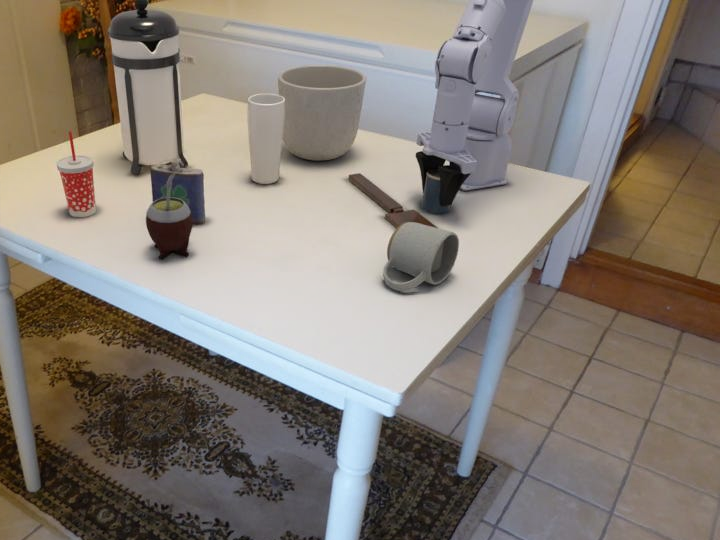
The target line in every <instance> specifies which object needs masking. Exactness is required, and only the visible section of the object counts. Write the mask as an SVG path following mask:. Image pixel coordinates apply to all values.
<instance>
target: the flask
mask: <svg viewBox="0 0 720 540" xmlns="http://www.w3.org/2000/svg"><path fill="white" fill-rule="evenodd" d="M179 162H180V163H181V162H182V161H181V159H180V158H176V159H171V160H170V163H171V164H169V165H167V164H163V163H161V164H160V165H151V167H150V171H149V172H150V182H151V183H150V184H151V197H152V202H154V201H155V200H157V199H160V198H166V197H167V188H166V185H167V181H168V179H169V177H170V176H171V175H172V174H173V173H175V176H174V178H173V179H172V188H171V192H170V197H174V198H178V199H181V200H183V201H184V202H185V203H186V204H187V205H188V207H189V209H190V211H191V216H192V220H193V225H202V224H204V223H205V221H206V208H205V202H206V201H205V187H204V185H205V183H204V181H205V180H204V179H205V174H204V171H203V170H202V169H201V168H189V167H186V168H180V164H179Z"/></svg>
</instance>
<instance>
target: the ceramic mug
mask: <svg viewBox="0 0 720 540" xmlns="http://www.w3.org/2000/svg"><path fill="white" fill-rule="evenodd" d="M459 246H460V239H459V237H458V235H457V233H456V232H454V231H450V230H446V229H443V228H439V227H437V228H435V227H431V226H427V225H423V224H420V223H415V222H406V223H403V224H401V225H400V226H399V227H398V228H396V229H395V230H394V231H393V233H392V234H391V236H390V238H389V241H388V244H387V249H386V257H387V260H388V261H387V262H386V263H385V265H384V268H383V270H382V271H383V272H382V276H383V280H384V282H385V284H386V285H387V287H389V288H390V289H392V290H394V291H397V292H406V291H410V290H414V289H415V288H417V287H418V286H419V285H421V284H422V283H423V282H426V283H428V284H430V285H434V286H435V285H440V284H441V283H443V282H444V281H445V280H446V278H447V277H448V276H449V275H450V273H451V271H452V270H453V268H454V266H455V263H456V261H457V257H458V254H459V248H460V247H459ZM392 268H395V269H396V270H398V271H400V272H402V273H404V274H408V275H409V276H412V277H414V278H413V279H411V280H408V281H404V282H394V281H393V280H392V278H390V277H389V276H388V275H389V273H390V271H391V270H392Z"/></svg>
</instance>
